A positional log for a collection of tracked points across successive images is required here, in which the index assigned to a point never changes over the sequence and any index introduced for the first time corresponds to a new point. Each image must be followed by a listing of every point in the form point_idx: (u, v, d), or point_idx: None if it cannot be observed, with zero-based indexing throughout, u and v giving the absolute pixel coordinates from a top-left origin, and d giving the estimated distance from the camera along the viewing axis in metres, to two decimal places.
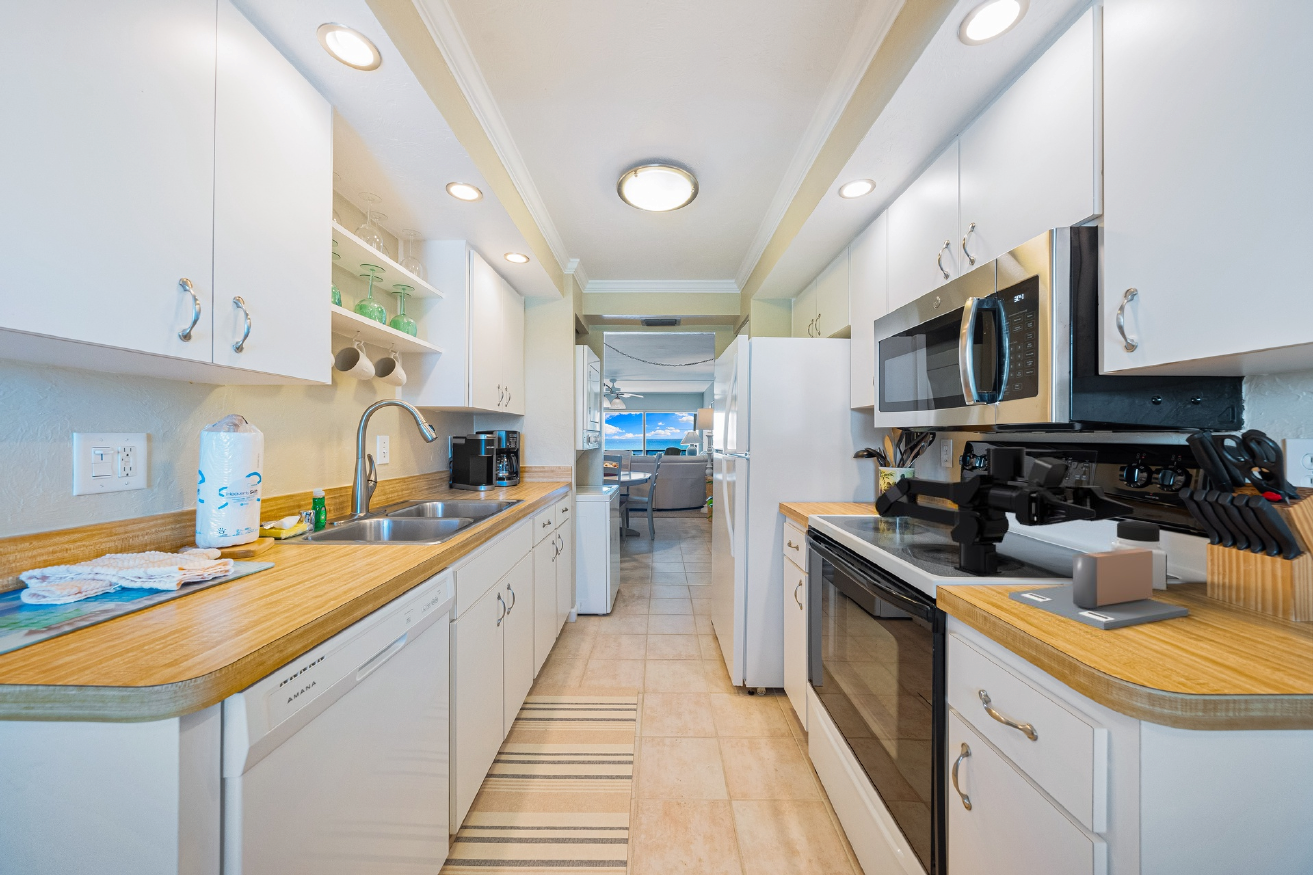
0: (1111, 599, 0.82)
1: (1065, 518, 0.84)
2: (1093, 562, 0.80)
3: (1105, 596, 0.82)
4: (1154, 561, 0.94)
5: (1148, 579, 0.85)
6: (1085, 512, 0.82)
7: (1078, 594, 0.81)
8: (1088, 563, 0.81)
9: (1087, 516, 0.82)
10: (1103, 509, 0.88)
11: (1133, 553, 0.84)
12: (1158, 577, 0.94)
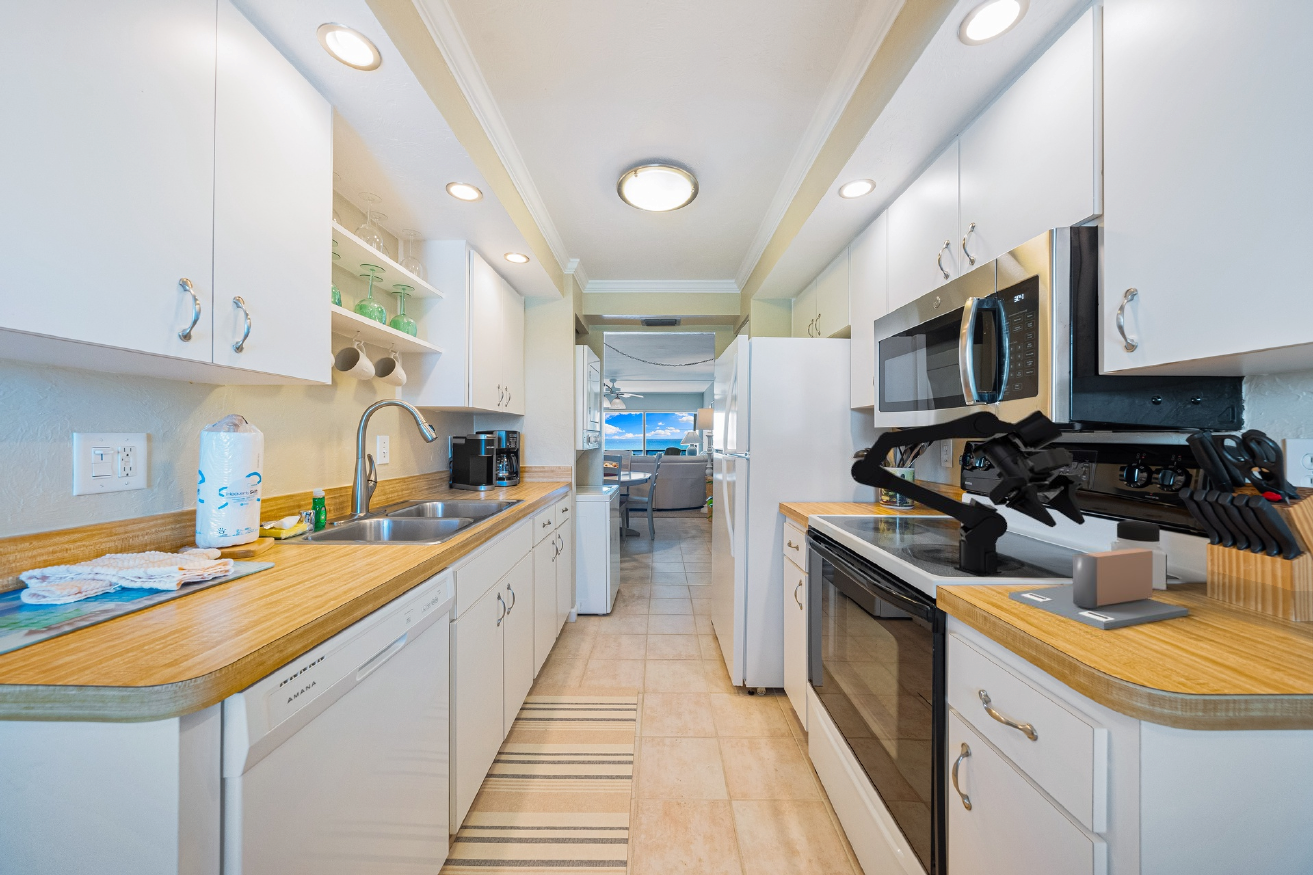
0: (1111, 599, 0.82)
1: (1030, 514, 0.95)
2: (1093, 562, 0.80)
3: (1105, 596, 0.82)
4: (1154, 561, 0.94)
5: (1148, 579, 0.85)
6: (1048, 520, 0.92)
7: (1078, 594, 0.81)
8: (1088, 563, 0.81)
9: (1047, 523, 0.92)
10: (1063, 505, 0.97)
11: (1133, 553, 0.84)
12: (1158, 577, 0.94)
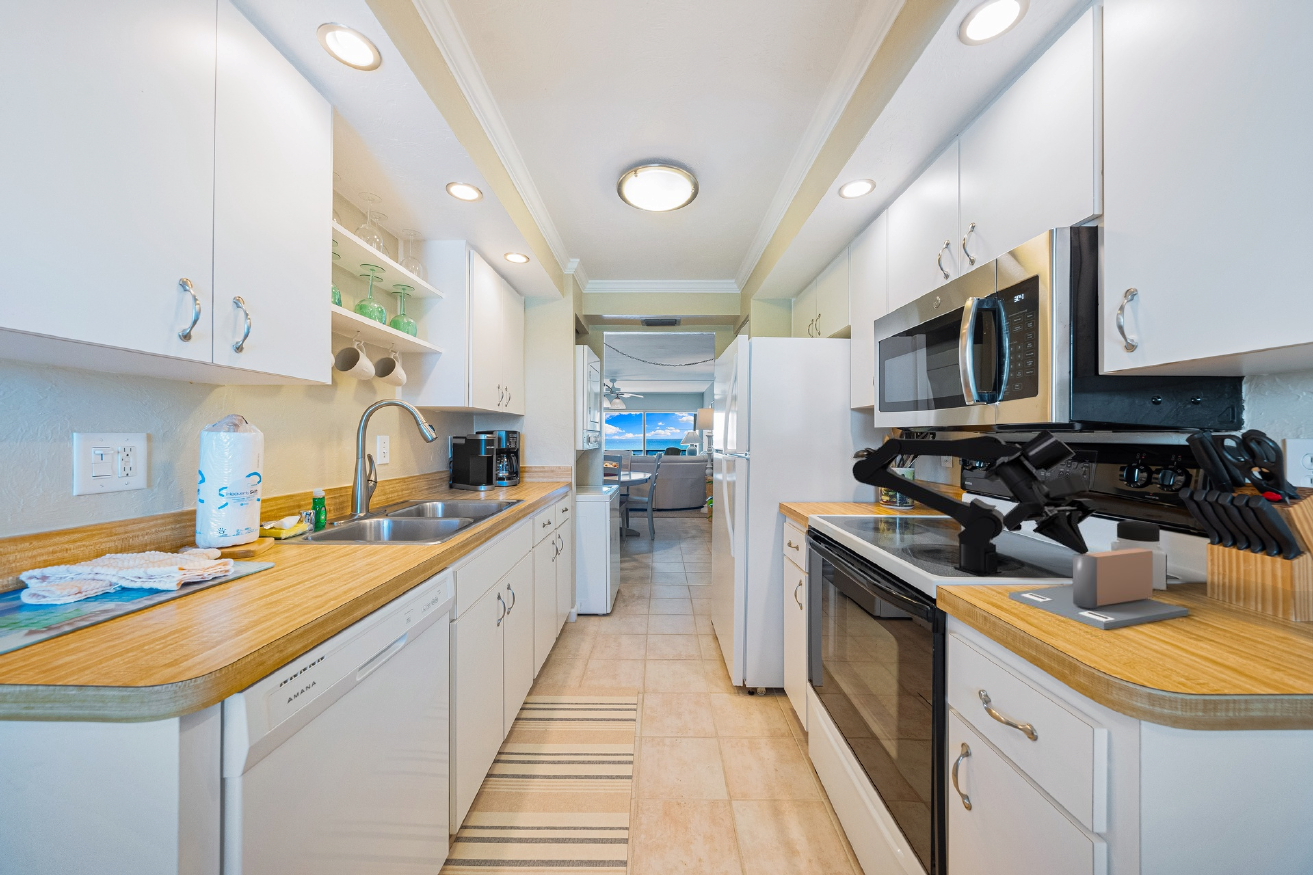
0: (1111, 599, 0.82)
1: (1059, 540, 0.93)
2: (1093, 562, 0.80)
3: (1105, 596, 0.82)
4: (1154, 561, 0.94)
5: (1148, 579, 0.85)
6: (1078, 547, 0.91)
7: (1078, 594, 0.81)
8: (1088, 563, 0.81)
9: (1077, 550, 0.91)
10: None
11: (1133, 553, 0.84)
12: (1158, 577, 0.94)
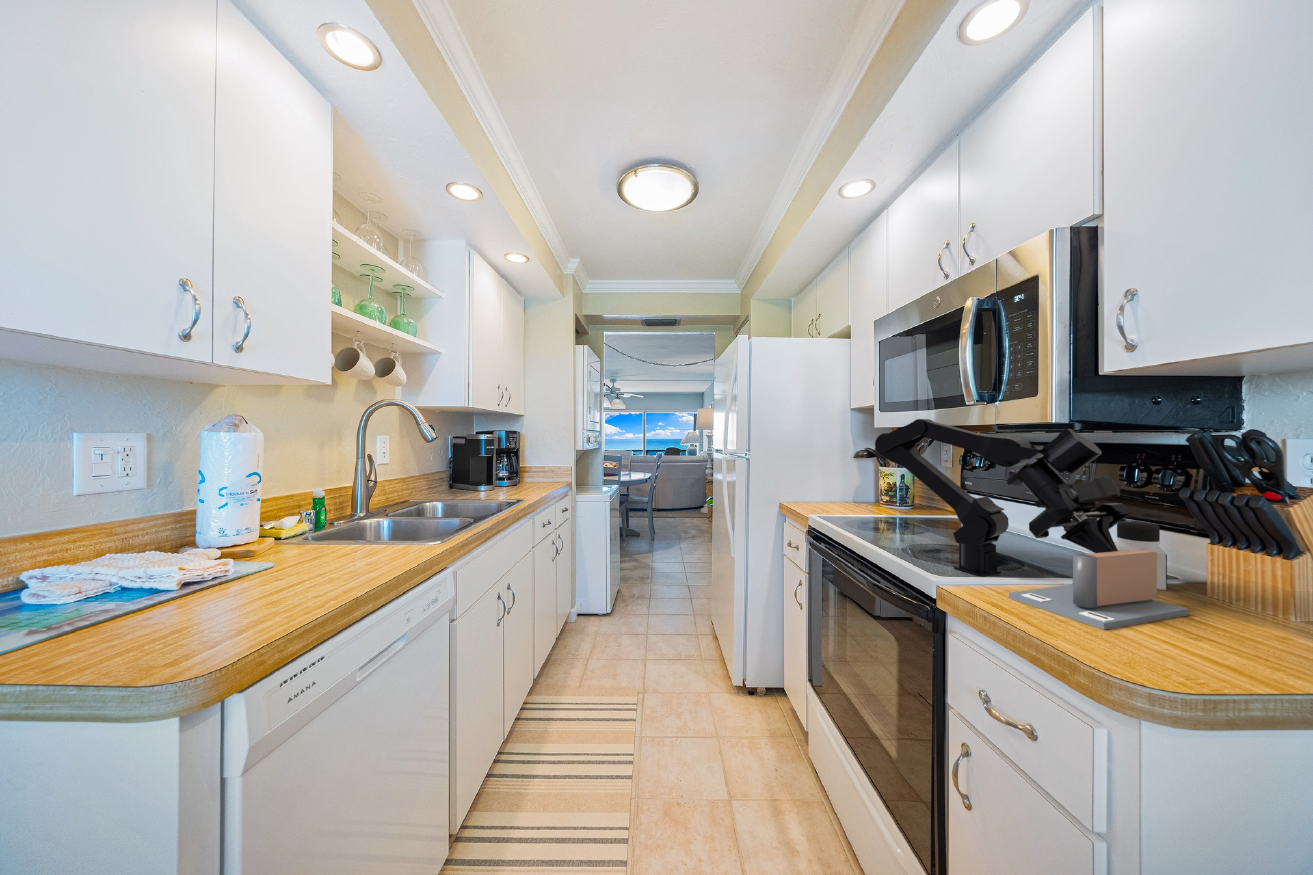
0: (1113, 599, 0.82)
1: (1089, 547, 0.88)
2: (1093, 562, 0.80)
3: (1105, 596, 0.82)
4: None
5: (1152, 580, 0.84)
6: None
7: (1078, 594, 0.82)
8: (1087, 563, 0.81)
9: None
10: None
11: (1136, 554, 0.83)
12: (1158, 577, 0.94)
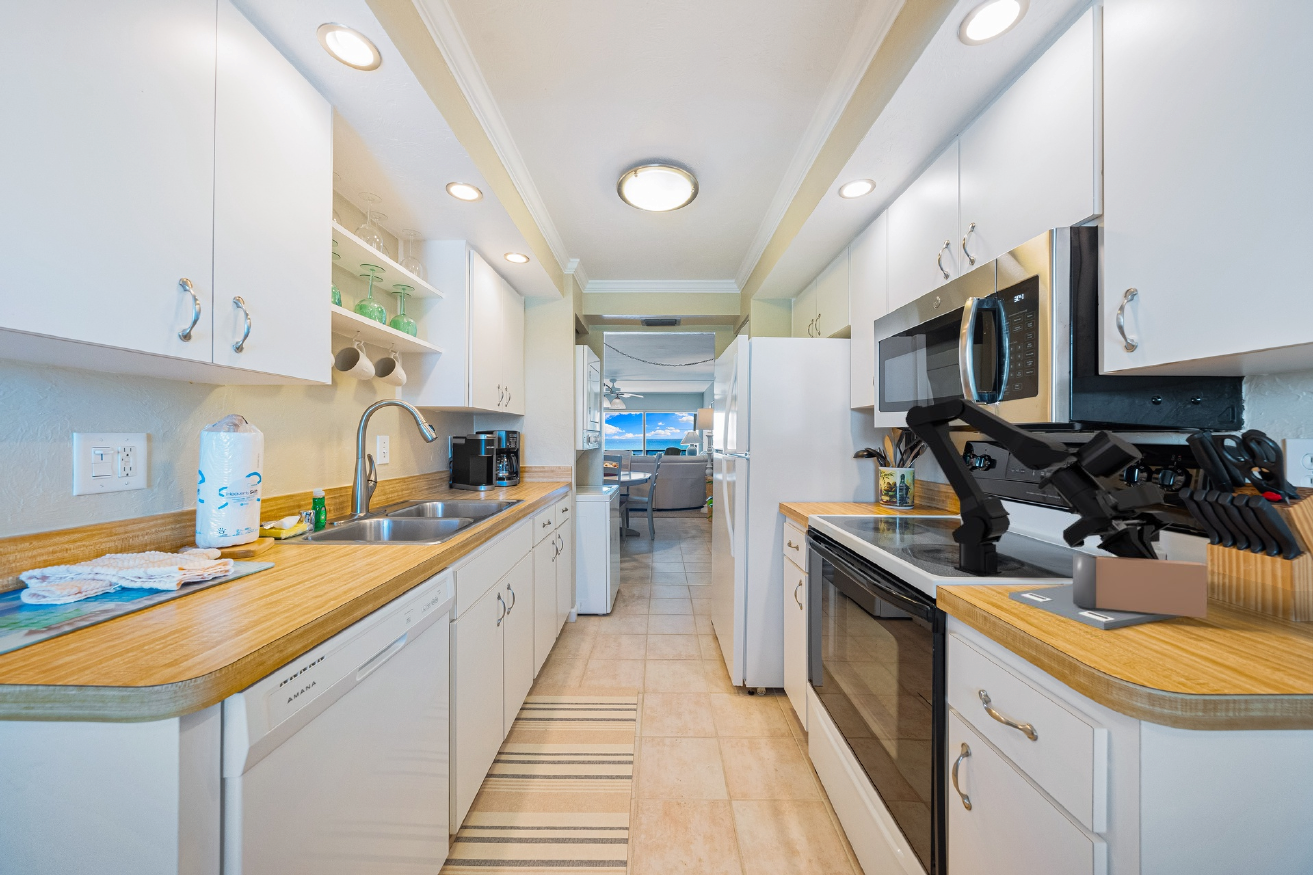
0: (1123, 605, 0.79)
1: None
2: (1086, 562, 0.81)
3: (1111, 600, 0.80)
4: None
5: (1197, 596, 0.76)
6: None
7: (1073, 592, 0.82)
8: (1080, 562, 0.81)
9: None
10: None
11: (1166, 563, 0.77)
12: None
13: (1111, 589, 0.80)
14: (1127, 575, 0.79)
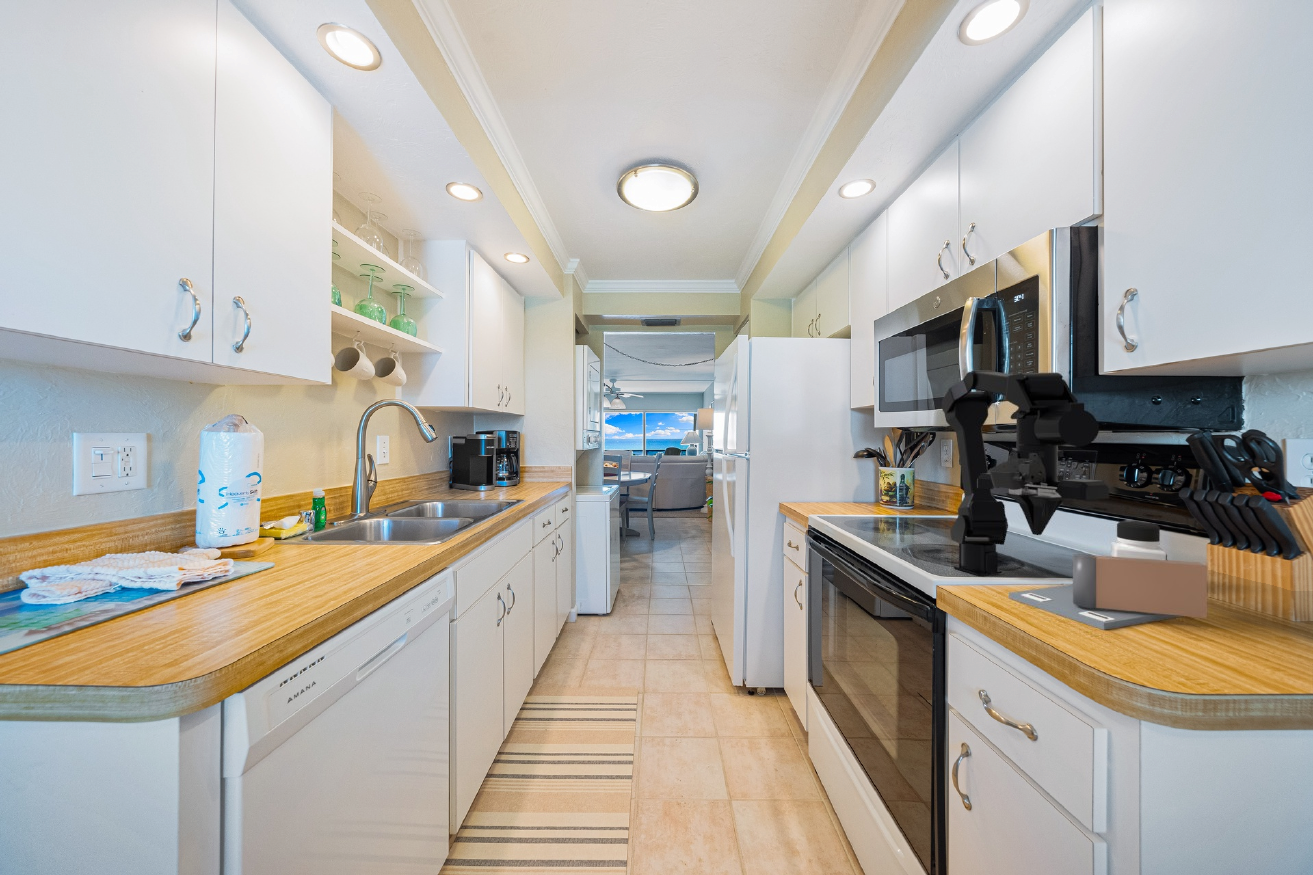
0: (1123, 605, 0.79)
1: None
2: (1086, 562, 0.81)
3: (1111, 600, 0.80)
4: None
5: (1197, 596, 0.76)
6: None
7: (1073, 592, 0.82)
8: (1080, 562, 0.81)
9: None
10: None
11: (1166, 563, 0.77)
12: None
13: (1111, 589, 0.80)
14: (1127, 575, 0.79)
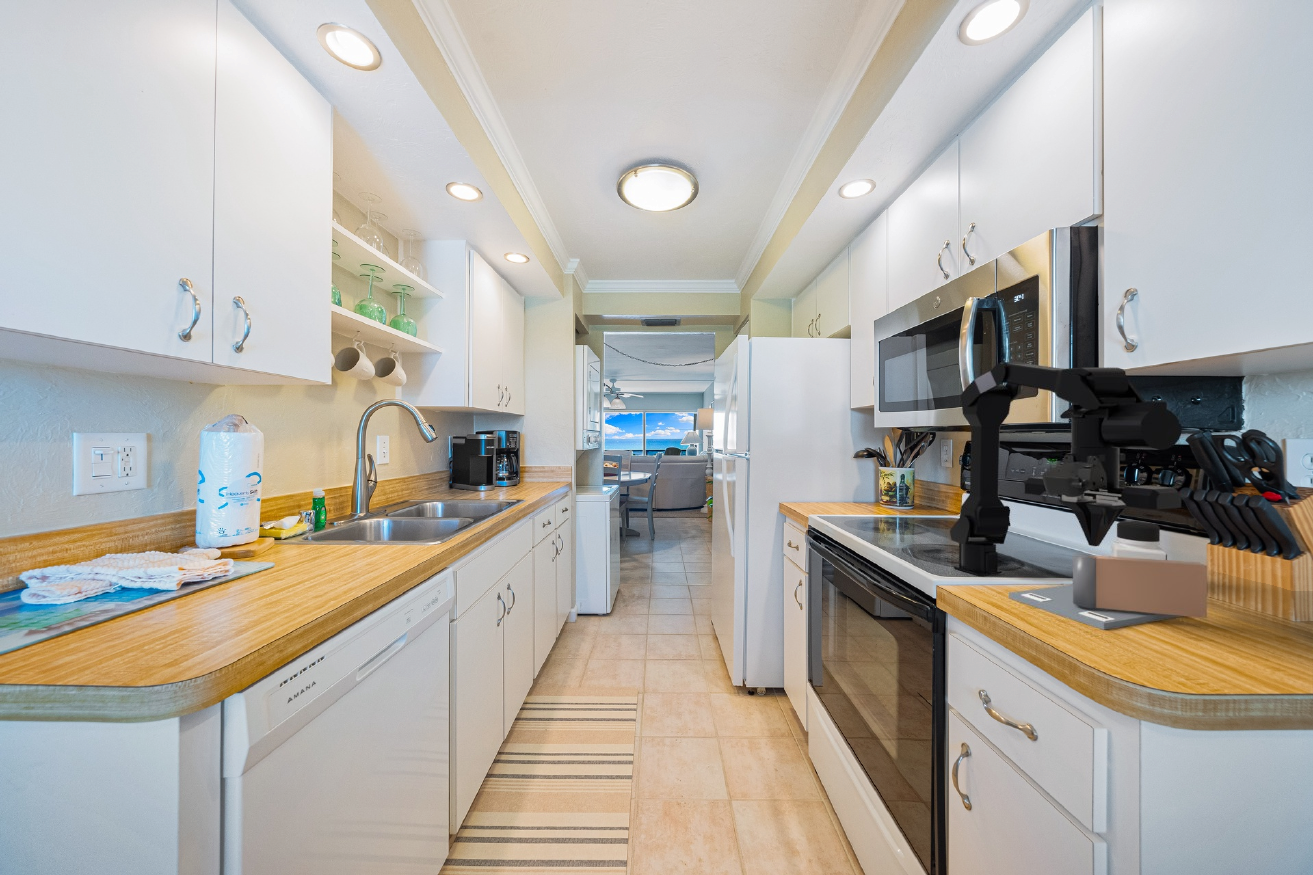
0: (1123, 605, 0.79)
1: None
2: (1086, 562, 0.81)
3: (1111, 600, 0.80)
4: None
5: (1197, 596, 0.76)
6: None
7: (1073, 592, 0.82)
8: (1080, 562, 0.81)
9: None
10: None
11: (1166, 563, 0.77)
12: None
13: (1111, 589, 0.80)
14: (1127, 575, 0.79)
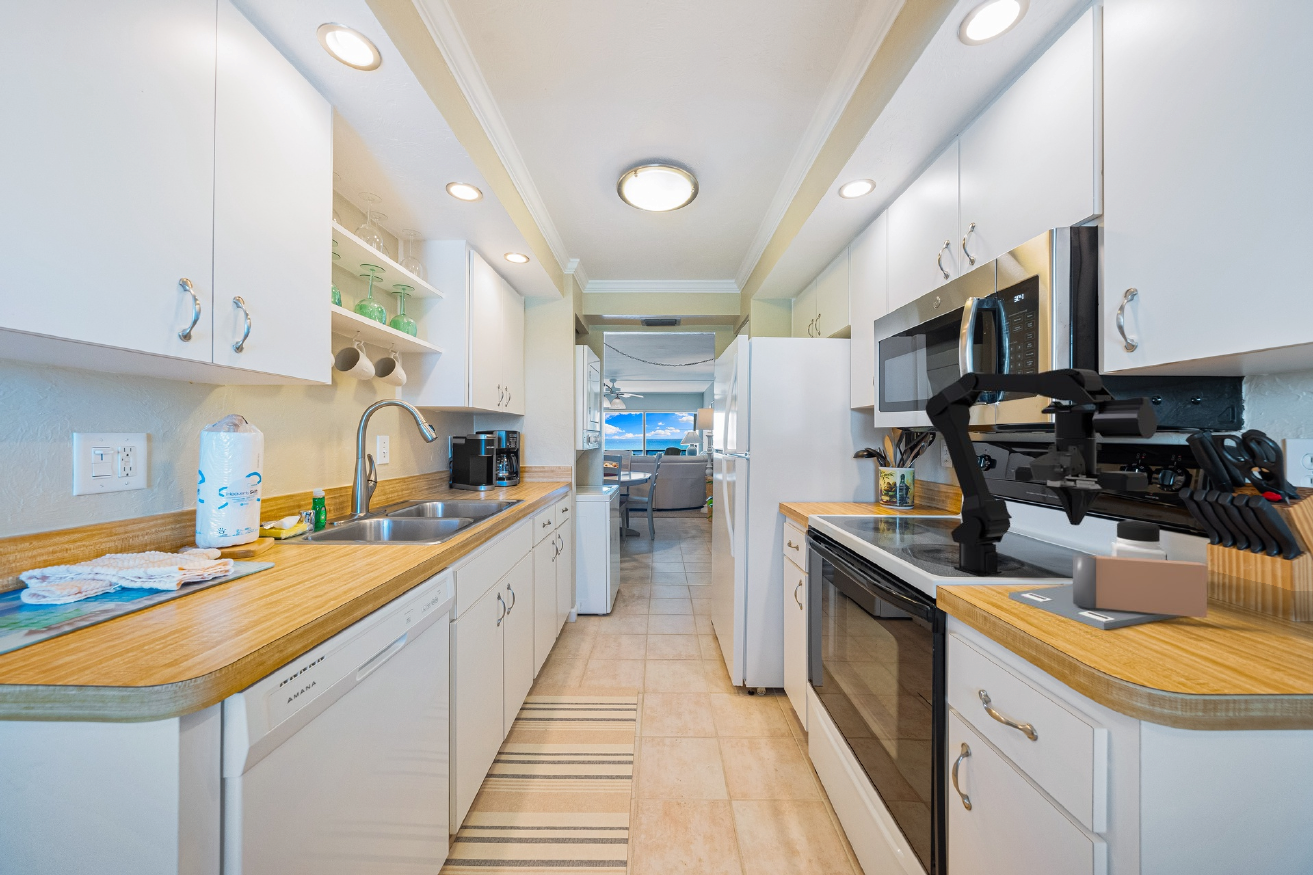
0: (1123, 605, 0.79)
1: None
2: (1086, 562, 0.81)
3: (1111, 600, 0.80)
4: None
5: (1197, 596, 0.76)
6: None
7: (1073, 592, 0.82)
8: (1080, 562, 0.81)
9: None
10: None
11: (1166, 563, 0.77)
12: None
13: (1111, 589, 0.80)
14: (1127, 575, 0.79)
